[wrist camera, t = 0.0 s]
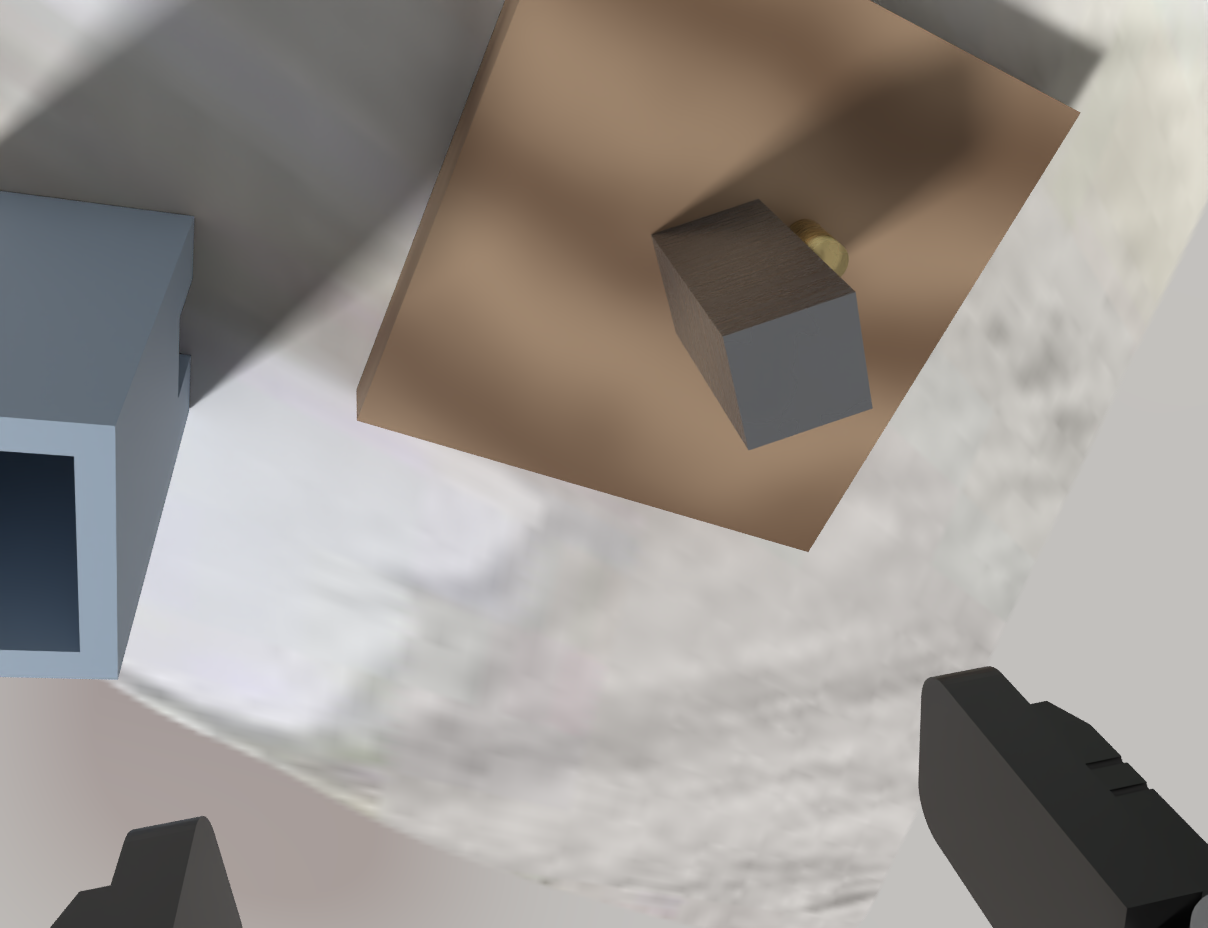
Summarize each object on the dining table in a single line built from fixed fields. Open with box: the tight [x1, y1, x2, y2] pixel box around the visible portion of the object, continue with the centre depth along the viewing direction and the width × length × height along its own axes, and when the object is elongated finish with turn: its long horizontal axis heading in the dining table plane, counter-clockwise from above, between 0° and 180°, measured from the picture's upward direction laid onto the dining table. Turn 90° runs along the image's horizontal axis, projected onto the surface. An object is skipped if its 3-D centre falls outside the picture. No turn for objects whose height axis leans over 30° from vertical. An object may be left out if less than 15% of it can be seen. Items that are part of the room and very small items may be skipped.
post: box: [651, 199, 873, 451], centre depth 29 cm, size 5×5×7 cm
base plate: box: [357, 0, 1080, 552], centre depth 32 cm, size 16×16×2 cm
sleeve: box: [0, 191, 194, 680], centre depth 25 cm, size 6×6×12 cm
